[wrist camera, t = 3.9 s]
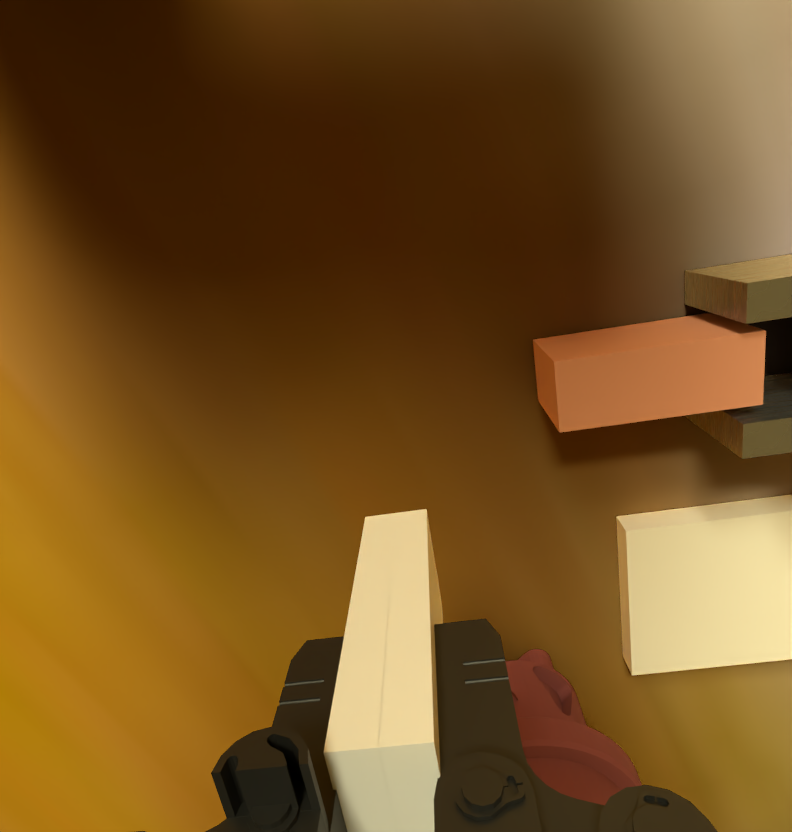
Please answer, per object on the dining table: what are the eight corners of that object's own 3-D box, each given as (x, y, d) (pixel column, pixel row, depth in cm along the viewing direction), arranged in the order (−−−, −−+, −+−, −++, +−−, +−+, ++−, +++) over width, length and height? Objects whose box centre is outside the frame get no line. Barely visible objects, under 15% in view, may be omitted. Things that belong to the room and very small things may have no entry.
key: (538, 400, 28) (559, 432, 24) (532, 339, 27) (554, 362, 23) (709, 376, 27) (762, 404, 23) (710, 312, 26) (766, 330, 22)
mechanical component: (394, 707, 35) (486, 588, 32) (531, 775, 36) (632, 666, 33) (382, 956, 23) (527, 804, 20) (586, 1042, 24) (750, 911, 21)
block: (622, 655, 33) (632, 675, 31) (616, 516, 30) (626, 531, 28) (844, 632, 32) (864, 651, 30) (859, 485, 29) (882, 499, 27)
